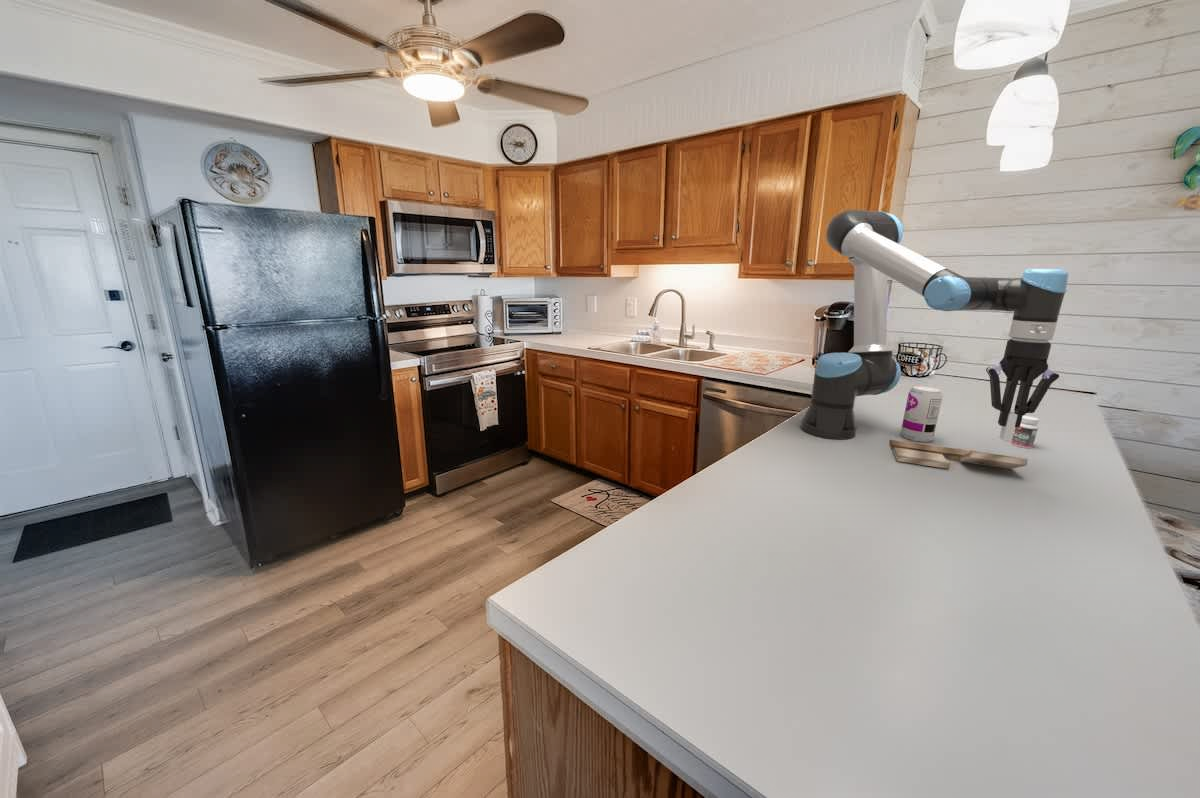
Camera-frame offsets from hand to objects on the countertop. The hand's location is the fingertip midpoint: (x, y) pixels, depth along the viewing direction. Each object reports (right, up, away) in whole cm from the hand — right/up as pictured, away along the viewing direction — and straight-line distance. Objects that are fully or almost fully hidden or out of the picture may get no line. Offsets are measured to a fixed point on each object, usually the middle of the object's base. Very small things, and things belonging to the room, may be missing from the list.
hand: (1005, 439), depth 113 cm
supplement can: (-3, -2, +28) cm, 28 cm away
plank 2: (+1, -6, +5) cm, 8 cm away
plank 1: (-13, -6, +11) cm, 18 cm away
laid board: (-3, -5, +15) cm, 16 cm away
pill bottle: (+25, -4, +24) cm, 35 cm away
